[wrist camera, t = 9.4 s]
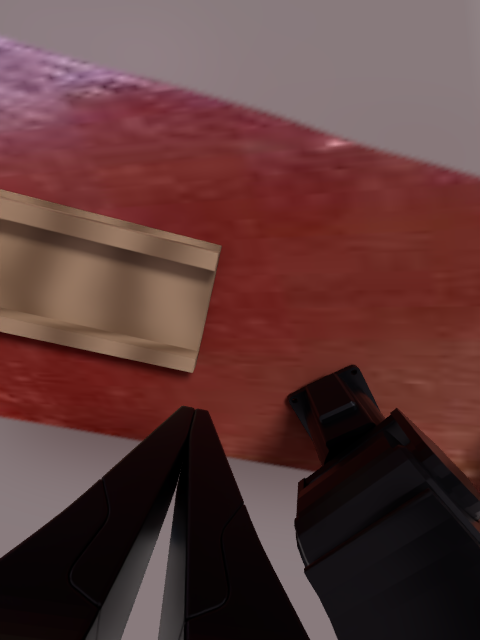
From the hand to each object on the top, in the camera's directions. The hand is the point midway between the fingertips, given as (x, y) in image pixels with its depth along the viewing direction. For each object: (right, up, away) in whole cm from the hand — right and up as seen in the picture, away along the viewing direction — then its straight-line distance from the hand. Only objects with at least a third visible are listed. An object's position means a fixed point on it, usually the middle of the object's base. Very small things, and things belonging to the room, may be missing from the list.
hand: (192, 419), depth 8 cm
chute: (-13, +7, +11) cm, 19 cm away
